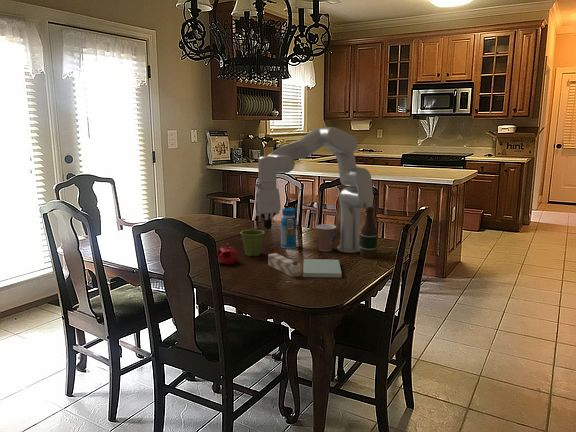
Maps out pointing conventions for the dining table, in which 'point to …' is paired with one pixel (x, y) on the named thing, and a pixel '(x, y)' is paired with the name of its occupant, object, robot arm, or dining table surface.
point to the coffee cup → (326, 236)
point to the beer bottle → (368, 236)
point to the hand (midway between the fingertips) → (267, 228)
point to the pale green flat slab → (321, 268)
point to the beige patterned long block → (284, 265)
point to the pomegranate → (227, 255)
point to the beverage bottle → (288, 228)
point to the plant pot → (252, 241)
